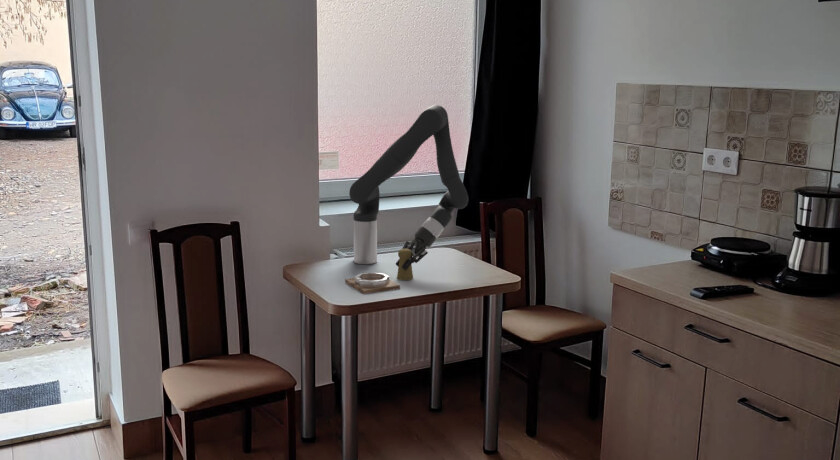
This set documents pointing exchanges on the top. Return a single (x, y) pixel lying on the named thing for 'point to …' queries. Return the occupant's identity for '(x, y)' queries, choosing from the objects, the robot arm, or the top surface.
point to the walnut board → (365, 289)
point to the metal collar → (369, 283)
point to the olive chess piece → (403, 256)
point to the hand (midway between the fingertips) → (400, 267)
